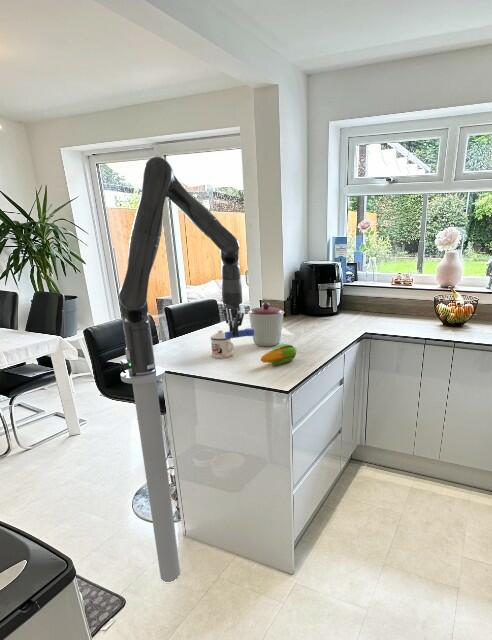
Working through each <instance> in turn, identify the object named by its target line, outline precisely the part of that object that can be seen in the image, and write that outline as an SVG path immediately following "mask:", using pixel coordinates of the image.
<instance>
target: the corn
mask: <svg viewBox="0 0 492 640" xmlns="http://www.w3.org/2000/svg"><path fill="white" fill-rule="evenodd" d="M297 353H298V350H297V348H296V347H295V346H293V345H291V344H289V343H283V344H280V345H279V344H278V345H275V346H272V347H271V348H270V351H268V352H265V353H264V354H263V355H261V357H260V361H261V362H262V363H267V364H268V363H269V364H270V365H271V366H279V365H282V364H286V363H289V362H291V361H293V360H294V359H295V357H296V356H297V355H296V354H297Z"/></svg>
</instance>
